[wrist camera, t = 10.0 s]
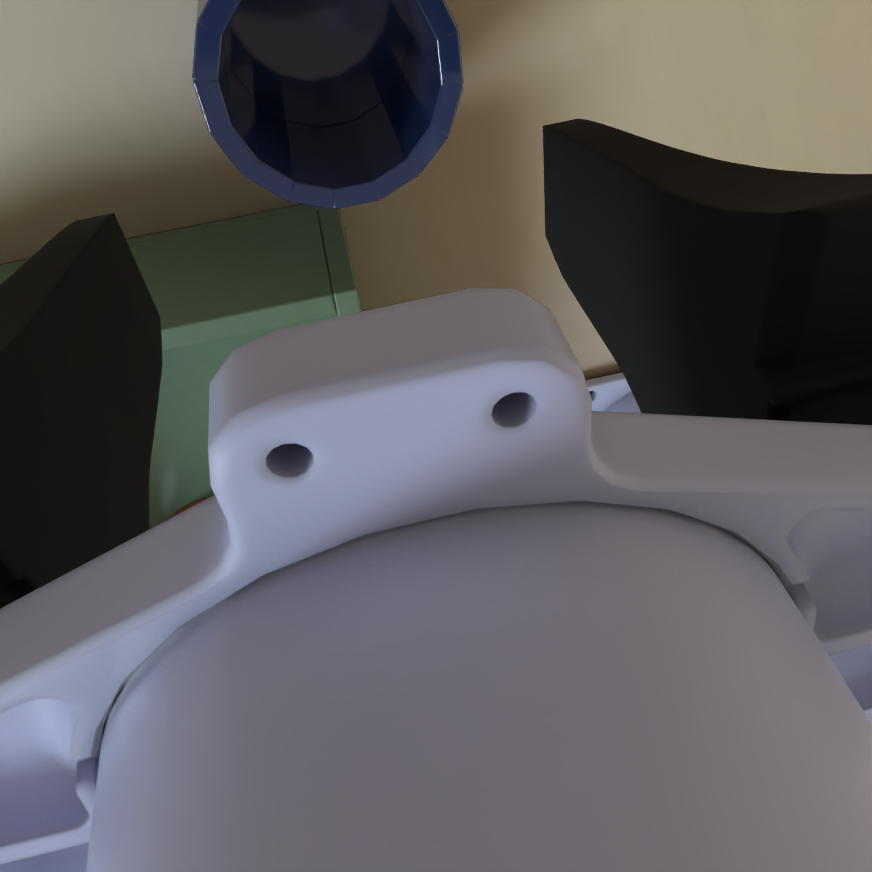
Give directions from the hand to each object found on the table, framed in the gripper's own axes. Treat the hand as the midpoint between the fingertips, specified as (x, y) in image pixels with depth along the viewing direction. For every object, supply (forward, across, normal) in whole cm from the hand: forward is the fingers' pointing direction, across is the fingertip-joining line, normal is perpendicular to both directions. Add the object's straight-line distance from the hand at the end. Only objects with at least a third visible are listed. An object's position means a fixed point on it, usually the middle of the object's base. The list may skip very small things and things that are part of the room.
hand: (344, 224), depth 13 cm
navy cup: (+9, 0, -1) cm, 9 cm away
